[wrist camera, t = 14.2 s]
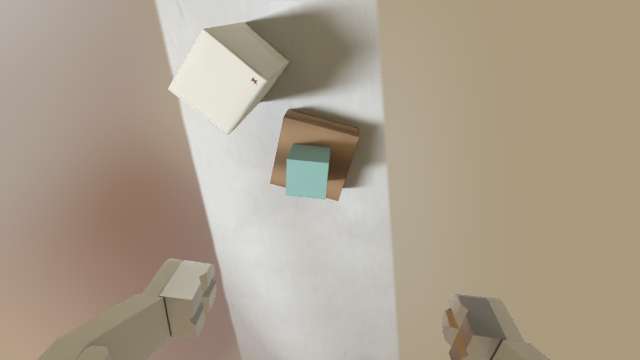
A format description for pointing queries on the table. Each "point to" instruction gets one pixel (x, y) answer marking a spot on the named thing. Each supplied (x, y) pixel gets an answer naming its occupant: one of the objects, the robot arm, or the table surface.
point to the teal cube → (307, 171)
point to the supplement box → (227, 74)
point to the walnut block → (316, 134)
